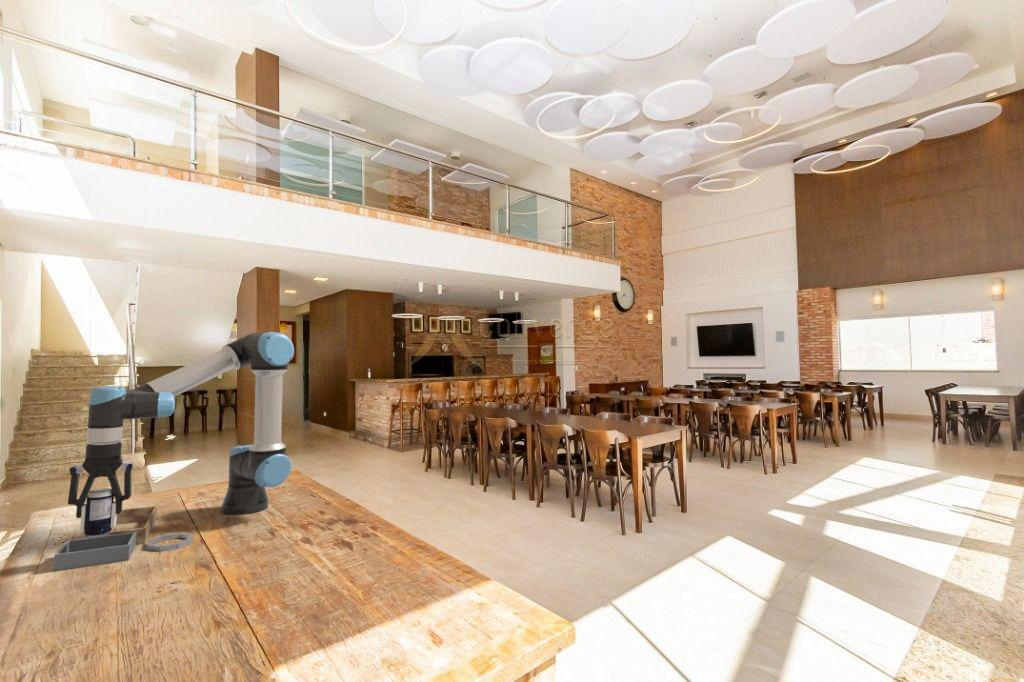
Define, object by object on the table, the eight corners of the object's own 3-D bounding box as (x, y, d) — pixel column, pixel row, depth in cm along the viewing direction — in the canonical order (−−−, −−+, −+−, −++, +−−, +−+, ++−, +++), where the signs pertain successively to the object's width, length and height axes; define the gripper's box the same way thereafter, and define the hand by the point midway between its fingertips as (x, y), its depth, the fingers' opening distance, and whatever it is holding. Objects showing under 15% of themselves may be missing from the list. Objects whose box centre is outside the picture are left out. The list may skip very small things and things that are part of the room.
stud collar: (193, 534, 149) (194, 530, 149) (191, 546, 140) (191, 542, 140) (150, 540, 144) (150, 536, 144) (144, 553, 134) (144, 549, 134)
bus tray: (135, 545, 140) (136, 531, 140) (128, 560, 130) (129, 545, 130) (66, 555, 132) (67, 540, 132) (53, 571, 122) (54, 555, 122)
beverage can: (116, 531, 134) (119, 488, 135) (101, 538, 128) (104, 493, 129) (95, 531, 134) (98, 487, 134) (78, 538, 128) (81, 493, 129)
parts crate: (156, 519, 162) (157, 505, 162) (144, 543, 141) (145, 528, 141) (106, 525, 156) (107, 511, 156) (86, 551, 135) (87, 535, 135)
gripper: (148, 438, 140) (143, 519, 139) (63, 442, 131) (57, 528, 130) (144, 442, 134) (138, 526, 133) (54, 446, 124) (47, 537, 123)
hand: (98, 527), depth 131 cm, fingers closed on beverage can, 6 cm apart
